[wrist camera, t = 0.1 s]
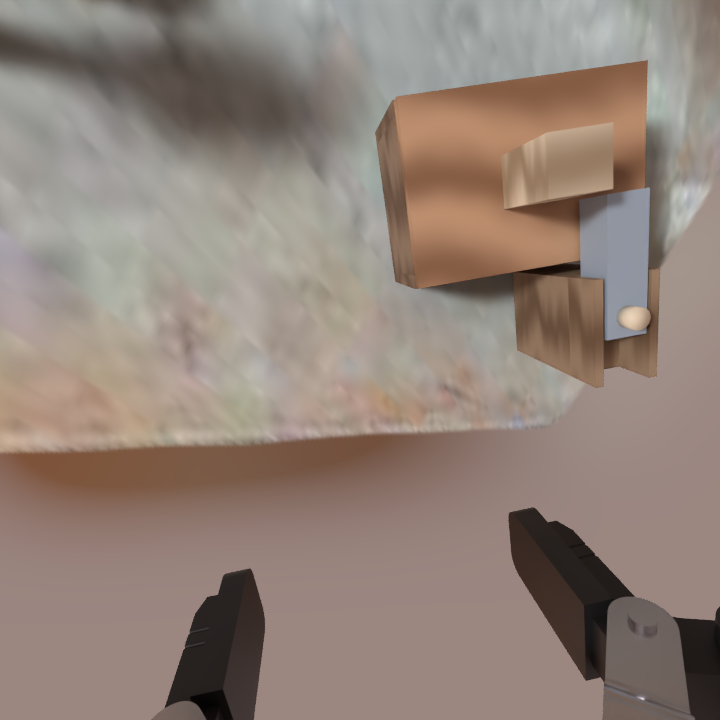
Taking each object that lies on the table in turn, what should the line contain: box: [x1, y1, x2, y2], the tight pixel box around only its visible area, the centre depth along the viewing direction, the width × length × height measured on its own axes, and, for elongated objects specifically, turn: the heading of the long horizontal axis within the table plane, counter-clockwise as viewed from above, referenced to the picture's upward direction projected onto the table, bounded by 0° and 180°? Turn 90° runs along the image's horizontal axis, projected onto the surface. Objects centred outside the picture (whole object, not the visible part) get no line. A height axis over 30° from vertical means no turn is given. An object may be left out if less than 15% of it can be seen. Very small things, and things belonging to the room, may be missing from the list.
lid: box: [394, 60, 648, 288], centre depth 28 cm, size 13×18×7 cm
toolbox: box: [375, 100, 660, 388], centre depth 34 cm, size 22×18×12 cm
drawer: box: [579, 187, 651, 341], centre depth 30 cm, size 10×3×4 cm, turn 9°
